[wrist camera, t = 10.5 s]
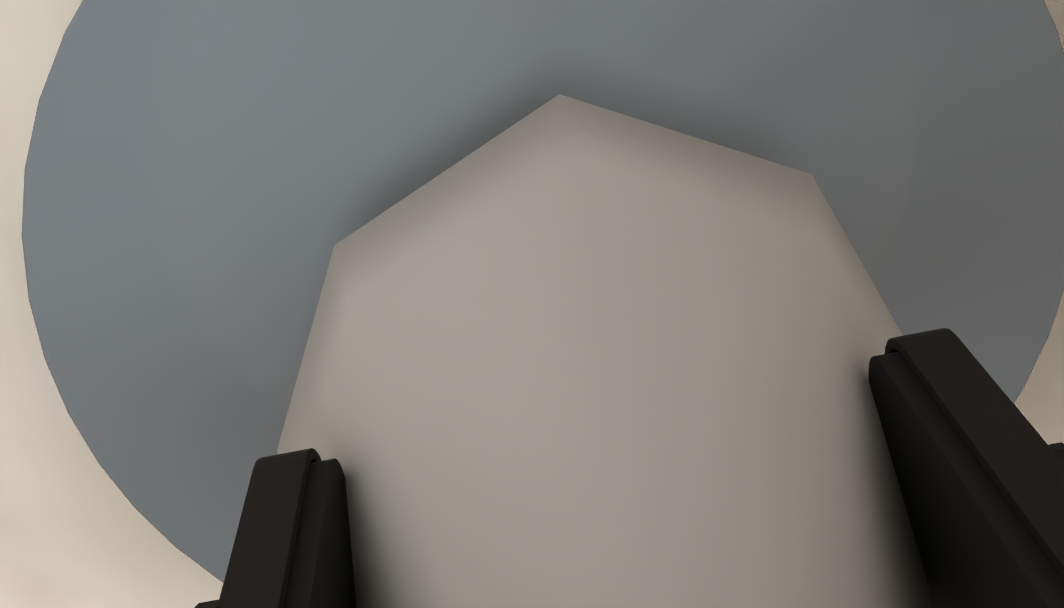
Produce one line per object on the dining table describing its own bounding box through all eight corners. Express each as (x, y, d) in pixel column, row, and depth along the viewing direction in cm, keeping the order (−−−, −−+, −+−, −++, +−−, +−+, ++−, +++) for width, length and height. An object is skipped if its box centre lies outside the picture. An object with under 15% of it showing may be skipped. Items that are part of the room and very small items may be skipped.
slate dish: (1094, -398, 11) (1151, -409, 10) (1007, 542, 18) (1036, 584, 17) (-162, -138, 11) (-213, -126, 10) (244, 684, 18) (234, 732, 17)
